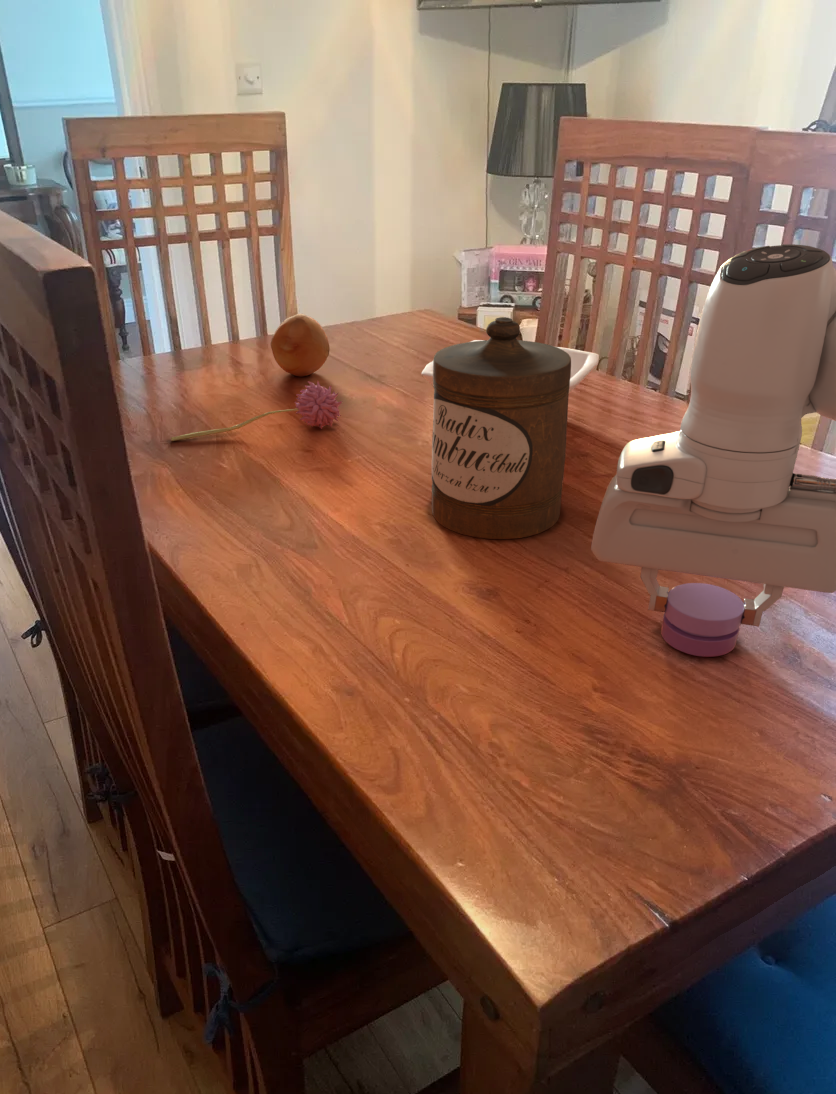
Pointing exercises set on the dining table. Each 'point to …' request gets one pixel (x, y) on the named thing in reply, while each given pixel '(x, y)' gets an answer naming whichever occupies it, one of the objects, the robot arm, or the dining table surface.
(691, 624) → the lavender disc
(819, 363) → the robot arm
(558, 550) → the dining table surface
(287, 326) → the onion
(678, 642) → the mauve disc
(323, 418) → the artificial flower
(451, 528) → the wooden container
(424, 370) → the bowl
